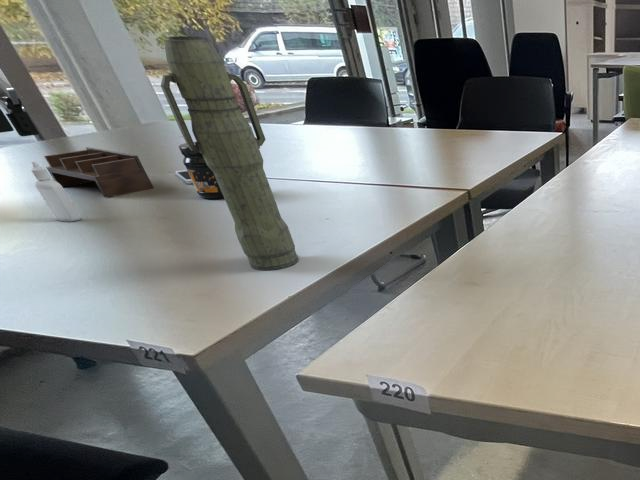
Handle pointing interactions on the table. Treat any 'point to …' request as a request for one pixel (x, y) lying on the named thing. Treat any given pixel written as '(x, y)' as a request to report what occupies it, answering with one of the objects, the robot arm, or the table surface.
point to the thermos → (228, 147)
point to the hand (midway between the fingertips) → (17, 133)
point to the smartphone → (184, 176)
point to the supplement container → (200, 173)
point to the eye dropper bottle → (54, 196)
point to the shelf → (99, 170)
